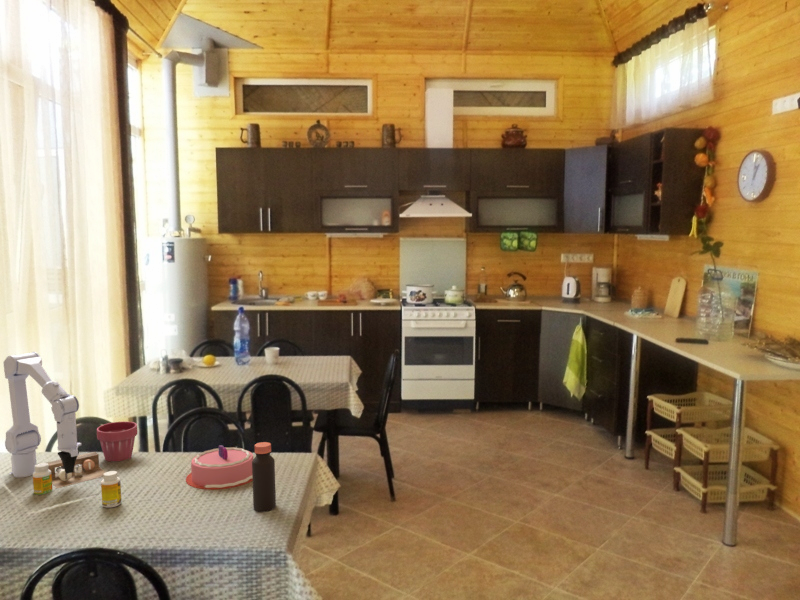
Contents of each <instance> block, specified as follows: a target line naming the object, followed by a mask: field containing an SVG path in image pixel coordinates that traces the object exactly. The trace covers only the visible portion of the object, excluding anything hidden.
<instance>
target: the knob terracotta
mask: <svg viewBox="0 0 800 600" xmlns="http://www.w3.org/2000/svg"><path fill="white" fill-rule="evenodd" d="M94 466H95V463H94V462H93V461H92V460H90V459H87V460H85V461H83V463H82V467H83V468H84V469H85V470H87V471H89V470H92V469H93V468H94Z"/></svg>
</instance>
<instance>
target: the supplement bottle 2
mask: <svg viewBox="0 0 800 600" xmlns="http://www.w3.org/2000/svg"><path fill="white" fill-rule="evenodd" d="M105 472H106V473H104V474H103V477H102V480H101V481H100V491H101V504H102V505H101V506H103V507H104V508H106V509H107V508H109V509H111V508H115V507H118V506H120V505H121V503H122V487H121V478H120V476H118V471H116V470H110V471H105Z"/></svg>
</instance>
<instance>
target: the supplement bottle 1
mask: <svg viewBox="0 0 800 600" xmlns="http://www.w3.org/2000/svg"><path fill="white" fill-rule="evenodd" d="M48 468H49V466H48V463H47V462H41V463H37V465H35V472H34V473H33V475H32V486H33V487H32V488H33V494H34V495H46V494H49V493H51V492H52V491H53V484H52V473H51V470H49V469H48Z"/></svg>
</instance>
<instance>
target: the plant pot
mask: <svg viewBox="0 0 800 600" xmlns="http://www.w3.org/2000/svg"><path fill="white" fill-rule="evenodd" d="M137 435H138V424H137V423H136V422H134V421H113V422H108V423H105V424H101V425H100V426H98V427H97V428H96V438H97V440H98V441H99V442H100V446H101V450H102V453H103V457H104V461H106V462H120V461H125V460H127V459H132V456H133V452H134V451H133V450H134V446H135V439H136V436H137Z"/></svg>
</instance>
